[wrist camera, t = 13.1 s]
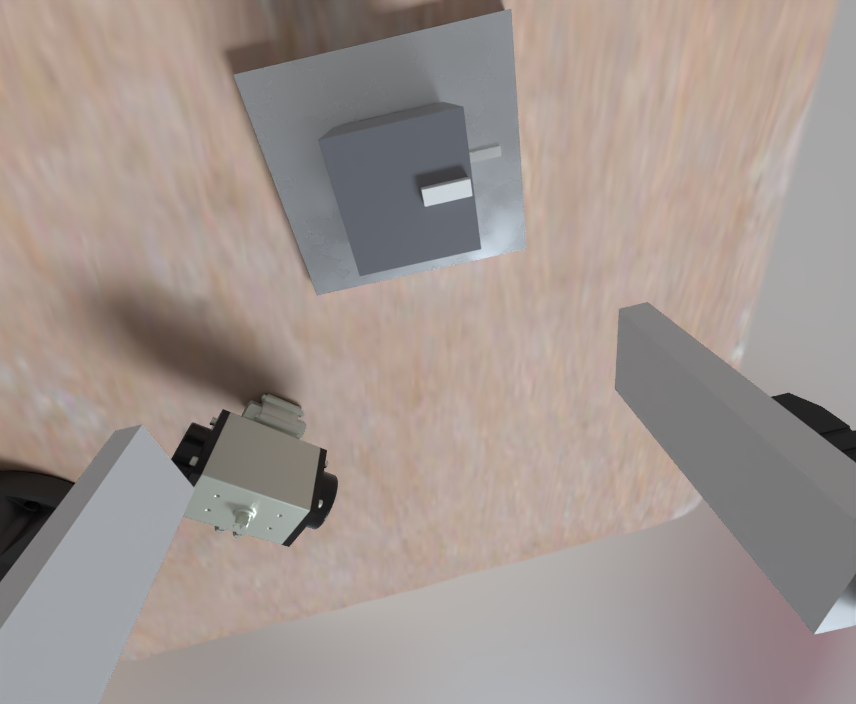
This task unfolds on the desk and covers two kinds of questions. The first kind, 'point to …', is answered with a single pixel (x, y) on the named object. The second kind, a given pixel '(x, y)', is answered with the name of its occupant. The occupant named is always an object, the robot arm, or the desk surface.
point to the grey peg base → (382, 95)
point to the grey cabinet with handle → (404, 186)
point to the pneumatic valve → (257, 473)
